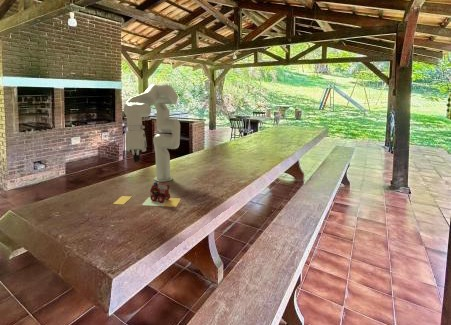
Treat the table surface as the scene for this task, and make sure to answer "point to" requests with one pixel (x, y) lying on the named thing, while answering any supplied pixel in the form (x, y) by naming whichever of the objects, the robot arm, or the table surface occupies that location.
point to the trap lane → (170, 202)
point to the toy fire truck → (159, 192)
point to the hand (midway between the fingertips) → (136, 161)
